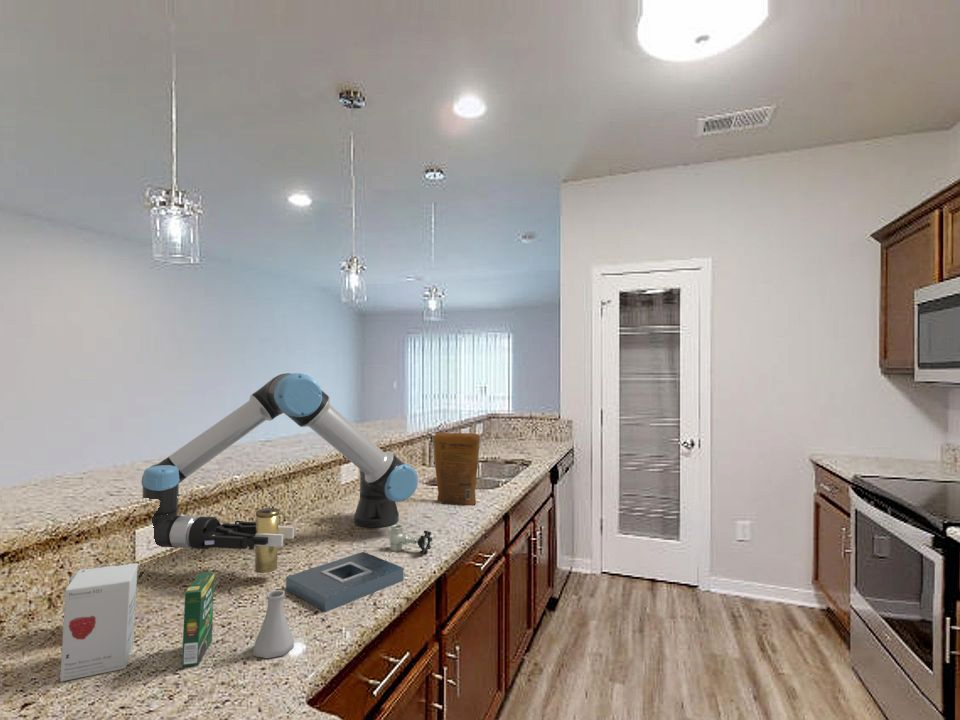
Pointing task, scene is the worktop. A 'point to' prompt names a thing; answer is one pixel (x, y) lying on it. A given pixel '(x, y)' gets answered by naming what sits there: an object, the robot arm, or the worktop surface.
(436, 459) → the pancake mix bag
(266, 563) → the brass bushing
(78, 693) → the worktop surface
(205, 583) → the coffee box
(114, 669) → the supplement box
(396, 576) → the plate
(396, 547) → the valve
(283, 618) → the flask
